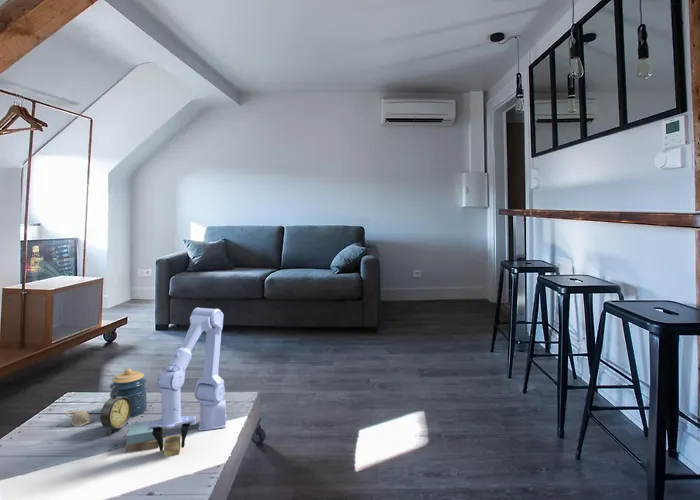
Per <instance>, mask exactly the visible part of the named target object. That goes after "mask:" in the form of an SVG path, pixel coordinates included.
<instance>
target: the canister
mask: <svg viewBox="0 0 700 500" xmlns="http://www.w3.org/2000/svg"><path fill="white" fill-rule="evenodd" d="M144 376H145V374H144V373H143V372H140V371H138V370H132V369H131V368H126V369H125V370H124V371H123V372H120V373H118V374H116V375H115V376H114V377H112V379H111V383H110V384H109V389H110V390H112V388H113V387H114V386H117V387H118V392H117V387H114V388H113V390H112V394H116V392H117V394H116V397H127V398H128V399H129V400H130V402H131V405H132V411H131V416H130V418H133V417H134V418H135V417H136V416H139V415H142V414H143V413H144V412H145V411H147V407H148V402H147V389H148V388H147V387H146V383H147V379H146V378H145V377H144ZM112 394H111V392H110V393H109V397H110V398H112V397H114V396H113V395H112ZM110 398H109V399H110Z"/></svg>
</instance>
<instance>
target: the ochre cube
mask: <svg viewBox="0 0 700 500" xmlns="http://www.w3.org/2000/svg"><path fill="white" fill-rule="evenodd" d="M181 449H182V447H181V435H180V434H179V435H171V436H170V435H169V436H166V437H165V439H164V440H163V456H164V457H170V456H177V455H180V451H181Z"/></svg>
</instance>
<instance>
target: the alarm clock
mask: <svg viewBox="0 0 700 500" xmlns="http://www.w3.org/2000/svg"><path fill="white" fill-rule="evenodd" d="M114 387H117V386H114ZM114 387H113V388H114ZM113 388H112V390H113ZM110 390H111V389H110ZM112 390H111V391H110V393H111V394H112ZM117 392H118V387H117ZM117 392H116V394H117ZM116 394H112V395H113V396H114V397H112V398H109V399H107V401H105V402H104V404H103V406H102V407H101V411H100V413H99V415H100V416H99V419H100V423H101V425H102V426H103V428H105V429H109V434H108V437H109V436H112V432H113V430H119V429H121V428H123V427H124V426H125V425H129V422H128V421H129V420H130V418H131V417H130V416H131V411H132V405H131V402H130V400H129V399H128V398H127V397H116Z"/></svg>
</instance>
